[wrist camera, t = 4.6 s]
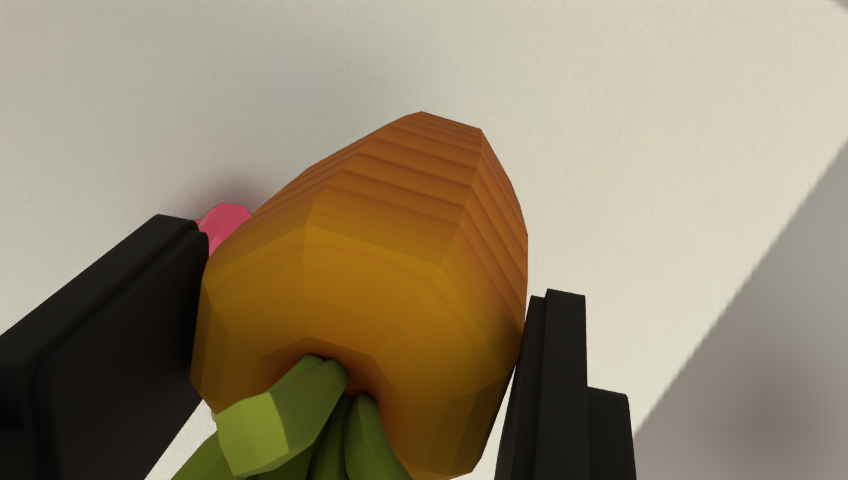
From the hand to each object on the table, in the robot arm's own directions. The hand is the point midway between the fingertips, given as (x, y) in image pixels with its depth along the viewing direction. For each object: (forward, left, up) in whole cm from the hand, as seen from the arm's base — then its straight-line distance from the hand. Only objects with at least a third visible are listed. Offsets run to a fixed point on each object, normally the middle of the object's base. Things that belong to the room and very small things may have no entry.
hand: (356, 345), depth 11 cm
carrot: (0, 0, -10) cm, 10 cm away
